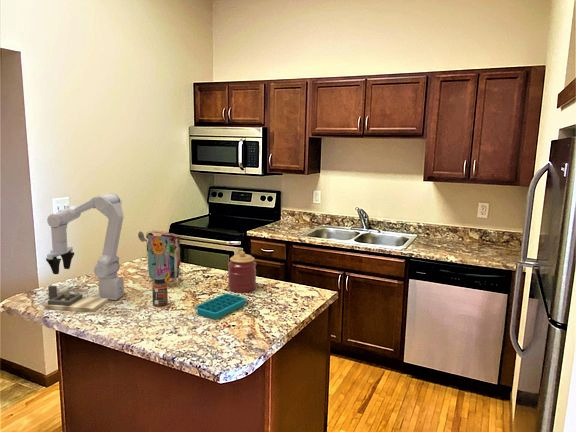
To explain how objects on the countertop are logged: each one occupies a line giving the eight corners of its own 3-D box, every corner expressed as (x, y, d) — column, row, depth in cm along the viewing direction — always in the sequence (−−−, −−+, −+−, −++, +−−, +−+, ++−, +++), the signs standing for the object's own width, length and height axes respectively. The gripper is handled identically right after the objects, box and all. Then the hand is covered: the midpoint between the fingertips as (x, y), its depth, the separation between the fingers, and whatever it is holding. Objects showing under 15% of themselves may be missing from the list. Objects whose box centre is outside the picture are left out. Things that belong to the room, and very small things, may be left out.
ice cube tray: (193, 314, 164) (192, 307, 163) (226, 299, 181) (226, 292, 180) (215, 321, 158) (215, 314, 157) (248, 305, 175) (248, 298, 174)
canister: (254, 293, 188) (255, 255, 185) (225, 292, 188) (225, 254, 185) (257, 284, 201) (257, 248, 198) (230, 283, 201) (230, 247, 198)
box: (134, 279, 203) (132, 230, 199) (144, 276, 209) (142, 228, 205) (173, 288, 192) (172, 236, 188) (182, 284, 197) (182, 234, 193)
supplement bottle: (158, 308, 168) (157, 281, 167) (149, 304, 172) (148, 277, 170) (170, 304, 173) (170, 277, 171) (161, 300, 177) (161, 274, 175)
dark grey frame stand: (82, 297, 173) (81, 283, 172) (69, 305, 164) (68, 291, 164) (57, 296, 174) (56, 282, 173) (43, 304, 166) (41, 289, 165)
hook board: (107, 301, 174) (107, 290, 173) (93, 312, 163) (92, 299, 162) (62, 299, 175) (61, 287, 175) (44, 309, 165) (43, 296, 164)
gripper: (61, 236, 188) (63, 266, 190) (39, 244, 173) (41, 275, 176) (76, 237, 187) (78, 267, 189) (55, 244, 173) (57, 276, 175)
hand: (61, 271), depth 182 cm, fingers open, 7 cm apart
